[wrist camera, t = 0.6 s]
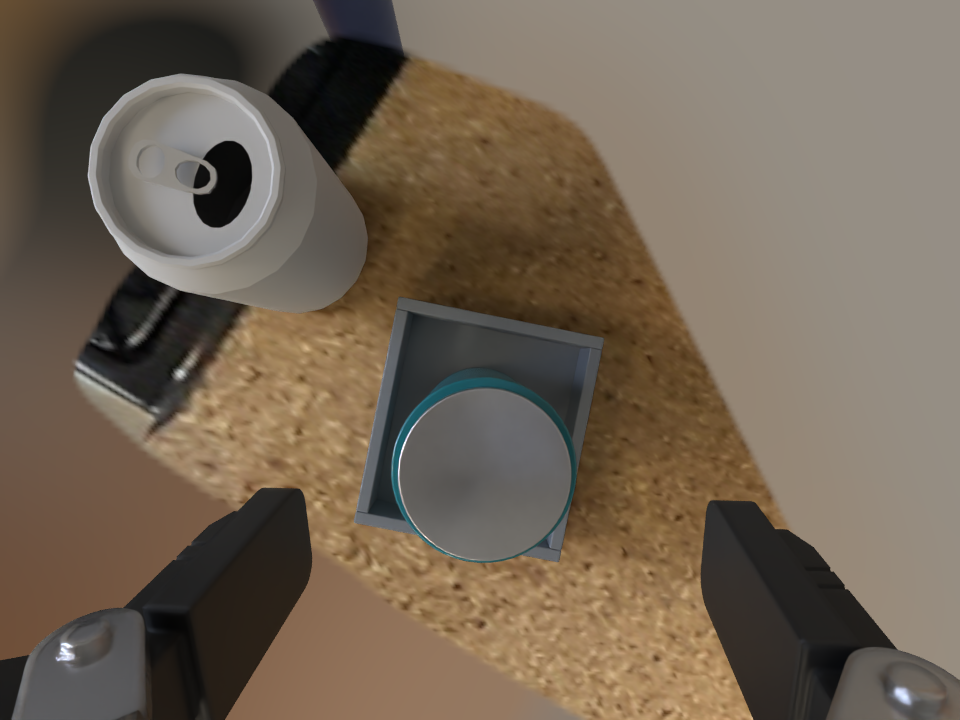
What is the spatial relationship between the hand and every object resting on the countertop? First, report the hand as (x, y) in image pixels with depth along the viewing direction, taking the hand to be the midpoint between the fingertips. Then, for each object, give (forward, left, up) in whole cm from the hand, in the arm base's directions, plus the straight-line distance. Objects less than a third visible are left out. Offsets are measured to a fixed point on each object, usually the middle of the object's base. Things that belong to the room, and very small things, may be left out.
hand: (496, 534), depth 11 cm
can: (-7, -11, -19) cm, 23 cm away
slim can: (0, 0, -18) cm, 18 cm away
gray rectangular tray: (0, 0, -19) cm, 19 cm away
